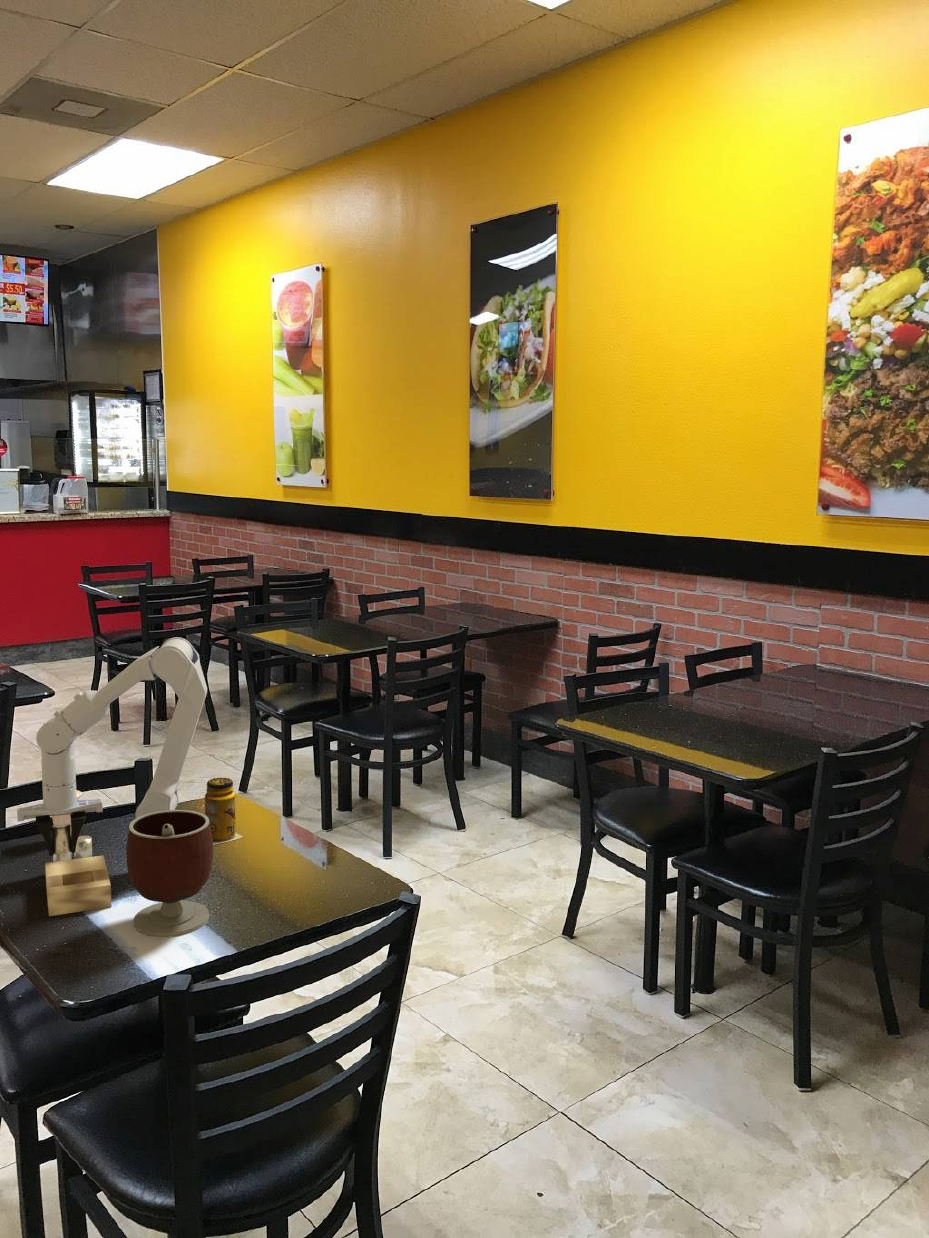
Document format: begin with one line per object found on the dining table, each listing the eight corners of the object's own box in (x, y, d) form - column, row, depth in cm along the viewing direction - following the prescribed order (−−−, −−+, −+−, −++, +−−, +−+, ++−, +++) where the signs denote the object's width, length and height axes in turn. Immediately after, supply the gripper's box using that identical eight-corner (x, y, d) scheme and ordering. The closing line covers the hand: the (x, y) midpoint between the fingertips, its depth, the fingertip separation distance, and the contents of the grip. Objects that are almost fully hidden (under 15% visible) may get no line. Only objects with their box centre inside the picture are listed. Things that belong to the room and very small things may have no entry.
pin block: (104, 875, 186) (103, 855, 185) (111, 906, 173) (110, 884, 172) (46, 883, 181) (45, 862, 181) (48, 916, 169) (47, 893, 168)
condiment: (243, 837, 206) (243, 781, 204) (207, 847, 200) (206, 790, 198) (225, 827, 211) (224, 773, 209) (188, 837, 205) (187, 781, 204)
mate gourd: (132, 905, 174) (129, 794, 171) (214, 899, 177) (213, 790, 174) (123, 947, 159) (119, 827, 156) (213, 940, 162) (211, 822, 159)
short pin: (95, 855, 195) (94, 836, 194) (87, 862, 192) (87, 842, 191) (79, 854, 195) (78, 835, 194) (71, 861, 192) (70, 841, 191)
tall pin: (75, 864, 188) (73, 823, 186) (67, 871, 184) (65, 830, 183) (58, 863, 188) (56, 822, 187) (50, 870, 185) (48, 829, 183)
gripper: (99, 771, 190) (101, 839, 192) (15, 779, 184) (19, 850, 186) (102, 782, 184) (105, 852, 186) (16, 791, 178) (19, 864, 180)
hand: (62, 852), depth 186 cm, fingers closed on tall pin, 3 cm apart
